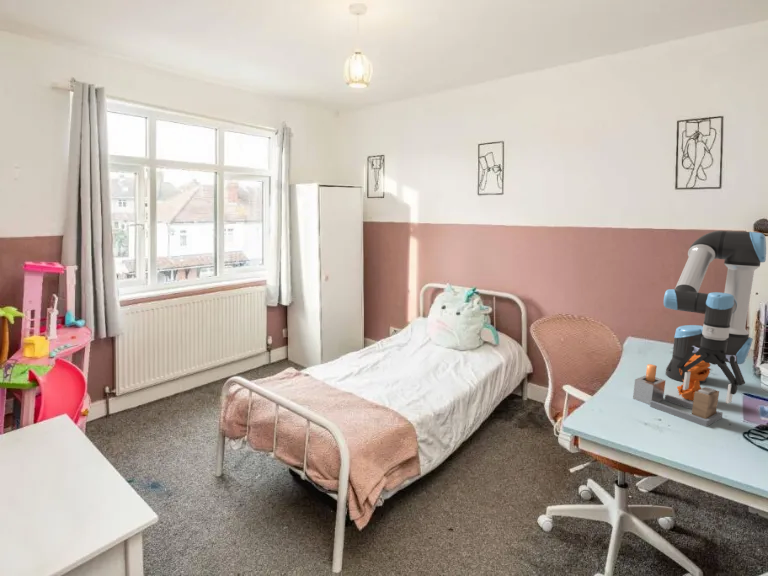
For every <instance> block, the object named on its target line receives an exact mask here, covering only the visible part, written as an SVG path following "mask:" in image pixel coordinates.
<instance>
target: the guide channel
mask: <svg viewBox="0 0 768 576" xmlns="http://www.w3.org/2000/svg"><path fill="white" fill-rule="evenodd" d="M664 401H665V402H666V401H667V402H670V403H672V404H675V405H678V406H681V407H684V408H687V409H689V410H692V408H693V402H691V401H690V400H689V401H688V400H686V399H682V398H680V397H676V396H673V395H669V394H664ZM649 407H651V408H653V409H656V410H659V411H661V412H664V413H667V414H669V415H673V416H674V417H675V416H676V417H679V418H681V419H684V420H687V421H689V422H692V423H695V424H697V425H700V426H704V427H706V428H707V427H708V426H710V425H711V424H714V423H715V422H718V421H719V420H721V419H722V418H723V412H722V411H719V410H716V414H714V415H713V416H711V417H709V418H707V419H704V418H701V417H698V416H695V415H692V413H690V412H687V411H683V410H681V409H678V408H675V407H672V406H669V405H666V404H663V403H660V402H655V401H651V403H650V405H649Z"/></svg>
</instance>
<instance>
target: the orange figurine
mask: <svg viewBox="0 0 768 576" xmlns="http://www.w3.org/2000/svg"><path fill="white" fill-rule="evenodd" d="M699 357H700V355H698V356H697V355H696V354H694V356H692V357H691V358H690V359H689V361H688V362H687V363H686V364H685V365H684V366H685V367H686V366H687V365H689V364H690V363H692V362H693V361H695V360H696V359H697V358H699ZM710 366H711V363H706V362H705V361H701V362H700V363H698V364H697V365H695V366H694V367H692V368H691V369H689V370H688V371H690V372H691V374H690V381H689V388H688V389H686V390H683V384H681V385H678V386H677V387H676V388H677V393H678V396H679V397H680V396H681V397H682V398H683V399H684V400H687V401H688V400H689V401H693V400H694V393H695V392H696V391H698V390H700V389H702V387H701V383H700V382H699V381H703V380H705V379H706V380H707V378H708V377H709V375H710V373H711V370H712V368H710ZM680 370H681V369H679V372H680ZM681 371H682V370H681ZM680 374H681V375H682V372H680ZM682 383H684V380H683V382H682Z"/></svg>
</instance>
